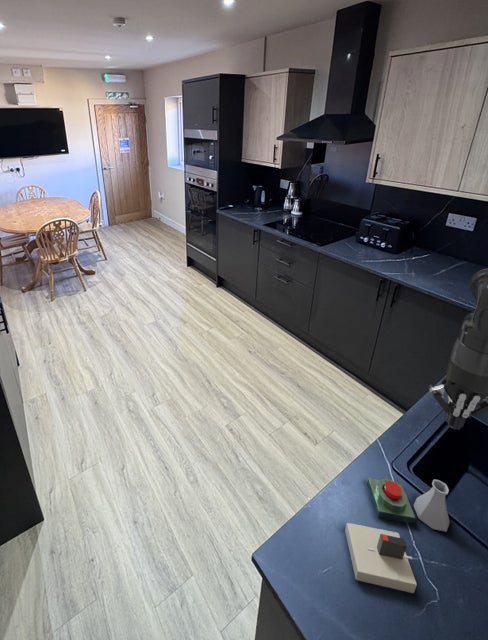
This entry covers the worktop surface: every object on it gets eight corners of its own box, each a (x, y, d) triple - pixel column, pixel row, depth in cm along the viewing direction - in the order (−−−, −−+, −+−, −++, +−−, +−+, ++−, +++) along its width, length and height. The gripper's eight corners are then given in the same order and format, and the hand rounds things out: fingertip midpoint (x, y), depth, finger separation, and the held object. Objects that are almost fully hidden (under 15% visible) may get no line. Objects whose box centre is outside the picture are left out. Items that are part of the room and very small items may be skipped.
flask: (412, 493, 84) (420, 465, 80) (447, 508, 80) (457, 480, 77) (414, 520, 78) (423, 492, 75) (451, 538, 74) (462, 509, 71)
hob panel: (400, 542, 74) (403, 533, 73) (418, 594, 65) (422, 585, 64) (344, 530, 76) (346, 521, 75) (355, 580, 68) (358, 570, 67)
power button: (396, 486, 82) (398, 482, 81) (402, 502, 78) (404, 497, 78) (381, 484, 82) (382, 479, 82) (386, 499, 79) (387, 494, 79)
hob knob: (399, 551, 70) (404, 537, 68) (402, 559, 68) (407, 545, 67) (376, 546, 71) (380, 532, 69) (378, 554, 69) (382, 540, 68)
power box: (399, 489, 85) (403, 478, 83) (413, 524, 77) (417, 513, 76) (367, 483, 86) (369, 473, 85) (377, 517, 79) (380, 506, 77)
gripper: (499, 354, 68) (477, 417, 74) (429, 346, 71) (412, 407, 77) (525, 380, 62) (499, 446, 67) (446, 370, 64) (427, 435, 70)
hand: (453, 425), depth 72 cm, fingers closed
